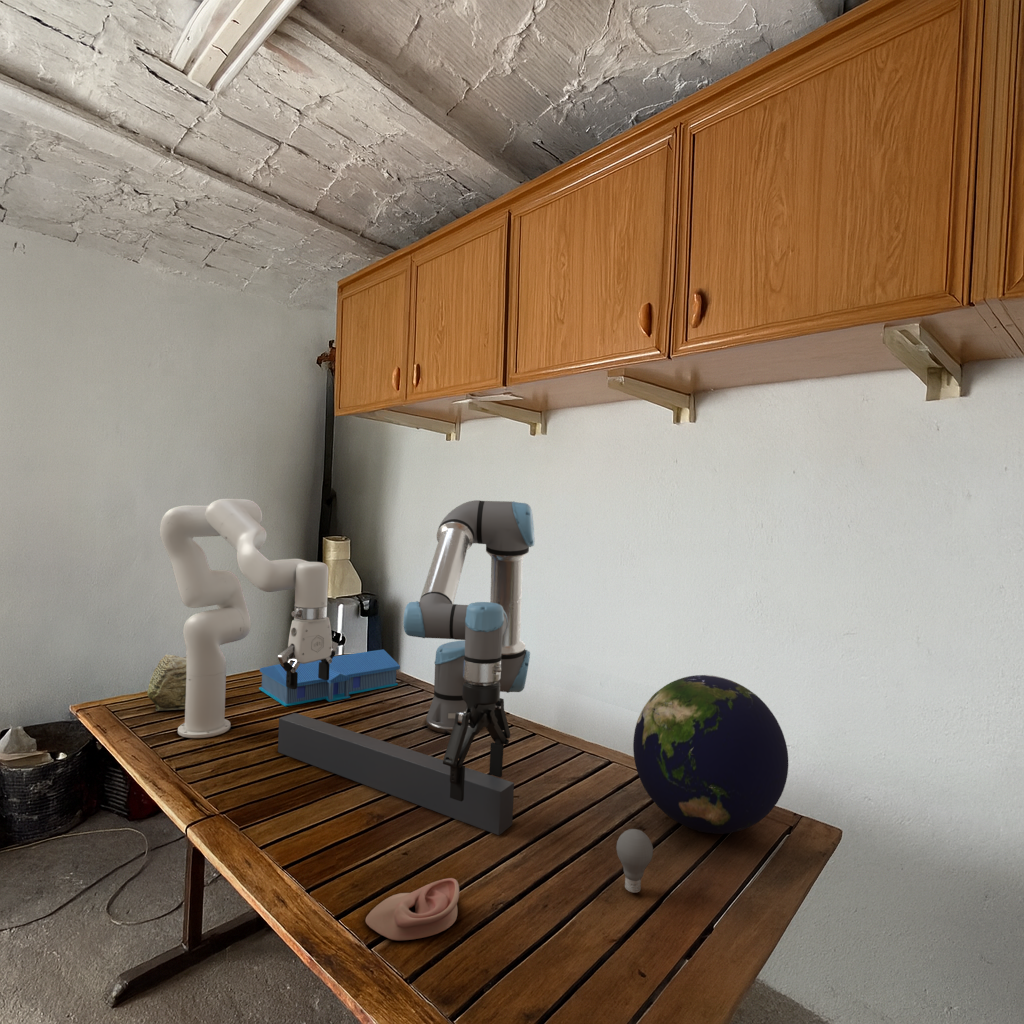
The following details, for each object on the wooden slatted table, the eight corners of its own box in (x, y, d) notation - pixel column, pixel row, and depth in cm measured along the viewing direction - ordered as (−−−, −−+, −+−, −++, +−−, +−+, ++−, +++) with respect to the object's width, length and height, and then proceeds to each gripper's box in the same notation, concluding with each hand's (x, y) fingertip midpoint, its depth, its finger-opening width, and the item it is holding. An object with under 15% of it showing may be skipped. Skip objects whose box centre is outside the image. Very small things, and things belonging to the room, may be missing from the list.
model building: (289, 709, 186) (291, 675, 185) (258, 688, 204) (259, 657, 204) (403, 687, 212) (405, 657, 212) (366, 670, 230) (368, 643, 230)
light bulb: (610, 879, 108) (613, 822, 108) (644, 879, 109) (647, 822, 109) (619, 902, 102) (622, 840, 102) (655, 901, 103) (658, 840, 103)
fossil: (144, 707, 182) (145, 655, 182) (212, 696, 194) (213, 647, 194) (151, 716, 175) (153, 662, 175) (221, 703, 188) (223, 653, 188)
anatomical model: (357, 906, 92) (388, 863, 104) (356, 933, 92) (387, 887, 104) (444, 922, 90) (466, 876, 101) (443, 950, 90) (465, 901, 101)
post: (277, 752, 156) (278, 718, 155) (294, 746, 160) (295, 712, 160) (498, 835, 121) (500, 791, 121) (512, 824, 126) (514, 782, 125)
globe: (615, 841, 121) (622, 685, 120) (644, 780, 148) (650, 652, 148) (786, 884, 109) (795, 711, 109) (782, 808, 137) (789, 671, 136)
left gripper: (291, 620, 144) (288, 695, 144) (348, 610, 159) (345, 678, 159) (270, 615, 148) (267, 688, 148) (327, 607, 163) (324, 673, 163)
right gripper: (459, 698, 114) (454, 816, 114) (529, 672, 135) (524, 771, 135) (427, 690, 118) (422, 804, 118) (499, 666, 139) (495, 762, 139)
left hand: (308, 683), depth 154 cm, fingers open, 9 cm apart
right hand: (477, 786), depth 127 cm, fingers open, 13 cm apart
